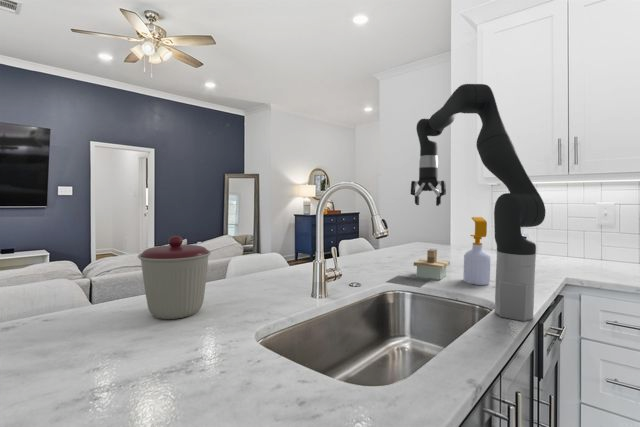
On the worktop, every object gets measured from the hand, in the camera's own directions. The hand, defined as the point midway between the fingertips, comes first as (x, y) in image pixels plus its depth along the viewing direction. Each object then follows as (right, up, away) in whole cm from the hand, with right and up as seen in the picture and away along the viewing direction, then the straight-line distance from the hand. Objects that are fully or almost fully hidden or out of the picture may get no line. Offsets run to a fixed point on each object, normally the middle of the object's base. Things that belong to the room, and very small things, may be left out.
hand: (427, 205), depth 146 cm
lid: (-1, -24, -10) cm, 26 cm away
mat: (-12, -29, -17) cm, 36 cm away
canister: (-85, -31, -52) cm, 104 cm away
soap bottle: (+13, -30, -16) cm, 36 cm away
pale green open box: (-1, -29, -9) cm, 30 cm away
